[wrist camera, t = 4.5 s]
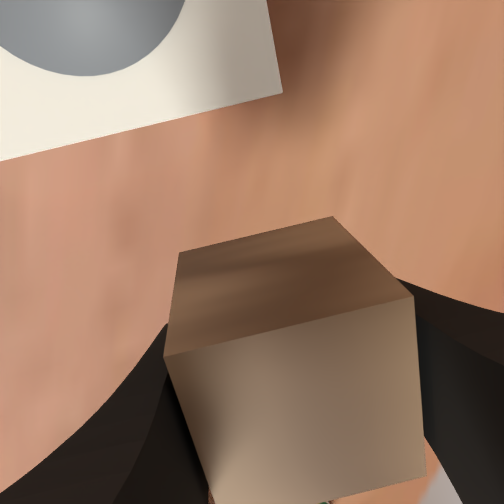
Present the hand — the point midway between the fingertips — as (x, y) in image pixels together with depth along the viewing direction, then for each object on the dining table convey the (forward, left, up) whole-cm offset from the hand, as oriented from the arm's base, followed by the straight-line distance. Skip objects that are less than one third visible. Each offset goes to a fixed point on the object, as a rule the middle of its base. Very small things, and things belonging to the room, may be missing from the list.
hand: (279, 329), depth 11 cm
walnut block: (0, 0, -2) cm, 2 cm away
